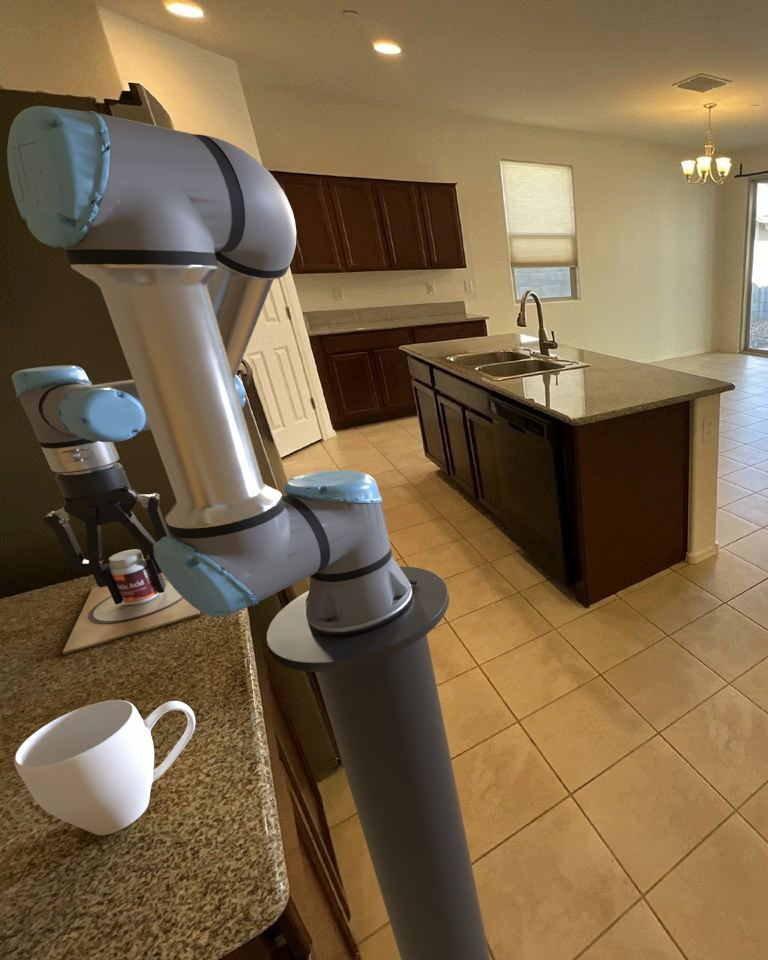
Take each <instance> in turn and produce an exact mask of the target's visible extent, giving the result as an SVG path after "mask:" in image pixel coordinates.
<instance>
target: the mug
mask: <svg viewBox="0 0 768 960" xmlns="http://www.w3.org/2000/svg"><path fill="white" fill-rule="evenodd" d="M171 711H180V712H183V713H184V714H185V716H186V719H187V726H186V728H185V730H184V732H183V733H182V735H181V737H180V738H179V739H178V741H177V743H176V744H175V746H174V747H173V748H172V750H171V751H170V752H169V753H168V754H167V756H166V757H165V759H164V760H163V761H162V762H161V763H160V765H158V766H157V767H155V768H154V766H155V747H154V741H153V737H152V733H151V731H152V729H153V728H154V726H155V724H157V722H158V721H159V719H160V718H161V717H163V715H165V714H166V713H168V712H171ZM195 728H196V716H195V714H194V711H193V710H192V708H191V707H190V706H189V705H187V704H186V703H185V702H182V701H178V700H169V701H167V702H164V703H162V704H161V705H159V706H157V708H156V709H154V710H153V711H152V712H151V713H150V714H149V715H148V716H147V717H146V718H145V719H143V718H142V716H141V714H140V713H139V711H138V709H137V707H136V706H135V705H134V704H133V703H132V702H130V701H127V700H122V699H112V700H111V699H110V700H104V701H99V702H95V703H91V704H88V705H85V706H82V707H79V708H77V709H74V710H72V711H70V712H67V713H65V714H63V715H61V716H59V717H57V718H55V719H54V720H52V721H50V722H48V723H47V724H45V725H43V726H42V727H41V728H39V729H38V730H36V731H35V732H34V733H32V734H31V735H29V737H27V739H26V740H24V742H23V743H22V744H20V746H19V748H18V749H17V750H16V752H15V754H14V757H13V758H14V759H13V764H14V767H15V769H16V772H17V774H18V775H19V776H20V778H21V781H23V783H24V785H25V787H26V788H27V790H28V791H29V793H30V795H31V796H32V798H33V799H34V801H35V802H36V804H38V805H39V806H40V808H41V809H43V810H44V811H45V812H46V813H48V814H50V815H51V816H53V817H55V818H57V819H58V820H61V821H63V822H66V823H68V824H71V826H75V827H77V828H79V829H81V830H83V831H86V832H89V833H91V834H93V835H97V836H107V835H111V834H114V833H117V832H119V831H121V830H123V829H125V828H127V827H128V826H131V824H133V823H134V822H135V821H137V820H138V819H139V818H140V817H141V816H142V815H143V814H144V813H145V812H146V810H147V809H148V807H149V805H150V796H151V790H152V785H153V783H154V782H155V781H157V780H158V779H159V778H161V777H162V776H163V775H164V774H165V773H166V772H167V770H169V768H170V767H171V766H172V764H174V762H175V761H176V759H177V758H178V756H180V754H181V753H182V751H183V750H184V749H185V747H186V746H187V744H188V743H189V741H190V740H191V738H192V736H193V735H194V732H195Z"/></svg>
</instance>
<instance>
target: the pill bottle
mask: <svg viewBox="0 0 768 960" xmlns="http://www.w3.org/2000/svg"><path fill="white" fill-rule="evenodd" d="M145 560H146V558H144V554H143V553H142V550H140V549H137V548H136V549H135V548H134V549H128V550H124V551H123V550H122V551H120V552H118V553H115V554H113V555H111V556H109V557H108V563H110V565H111V567H112V570H111V575H112V577H113V579H114V581H115V584H116V586H117V588H118V591H119V593H120V595H121V598H122V600H123V602H124V603H125V604H127V605H133V604H140V603H143V602H146V601H149V600H151V599H153V598H154V597H156V596H157V595H158V594H159V593H158V591H157V589H156V586H155V584H154V581H153V579H152V576H151V574H150V571H149V569H148V566H147V564H146V561H145Z"/></svg>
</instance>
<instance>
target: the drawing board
mask: <svg viewBox="0 0 768 960" xmlns="http://www.w3.org/2000/svg"><path fill="white" fill-rule="evenodd" d="M161 575H162V577H163V580H164V582H165V585H166V586H165V591H164V592H163V593H159V594H158V595H157V596H156V597H154V598H153V599H151V600H149V601H146V602H143V603H140V604H133V605H127V604H125V603H124V602H123V601H122V603H120V604H116V605H115V602H114V600H113V598H112V596H111V593H110V591H109V589H108V587H107V586H105V587H101V588H100V587H99V586H98V585H97V586H92V588H91V589H90V590H91V591H90V593H89V595H88V597H87V598H86V601H85V603H84V605H83V607H82V610H81V612H80V614H79V616H78V618H77V620H76V622H75V624H74V627H73V629H72V630H71V633H70V635H69V637H68V639H67V641H66V644H65V646H64V648H63V650H62V654H63V655H66V654H70V653H73V652H77V651H80V650H84V649H87V648H90V647H93V646H97V645H100V644H101V645H102V644H104V643H107V642H111V641H115V640H118V639H121V638H125V637H128V636H132V635H136V634H140V633H143V632H146V631H149V630H153V629H156V628H161V627H164V626H167V625H171V624H174V623H177V622H181V621H184V620H187V619H188V620H189V619H192V618H195V617H198V616H200V615H201V611H199V610H197V609H196V608H195V607H193V606H192V605H191V604H189V603H188V602H187V601H186V600H185V599H184V598H183V597H182V596H181V595H180V594H179V593H178V592H177V591H176V590H175V589H174V587H173V586H172V585H171V584H170V582H169V581H168V580H167V578H166V577H165V576H164V574H163V573H161Z"/></svg>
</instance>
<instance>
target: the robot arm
mask: <svg viewBox="0 0 768 960" xmlns="http://www.w3.org/2000/svg"><path fill="white" fill-rule="evenodd" d="M6 154H7V155H6V157H7V158H6V159H7V160H6V161H7V169H8V170H7V171H8V177H9V183H10V186H11V191H12V195H13V198H14V201H15V204H16V207H17V209H18V212H19V215H20V217H21V218H22V220H24V221H25V222H26V227H27V228H28V231H29V232H30V233H31V234H32V235H33V237H34V238H36V239H37V240H38V241H39V242H41V243H43V244H44V245H47V246H50V247H53V248H55V249H58V250H62V249H64V252H65V254H66V256H67V260H68V262H69V264H70V267H71V269H72V270H74V271H75V272H77V273H79V274H80V275H81V276H84V277H86V278H87V279H89V280H90V281H92V282H93V283H95V284H96V285H97V286H98V288H100V292H101V294H102V297H103V299H104V302H105V304H106V307H107V310H108V313H109V316H110V318H111V322H112V324H113V327H114V330H115V333H116V337H117V338H118V342H119V344H120V347H121V350H122V352H123V355H124V358H125V361H126V365H127V366H128V369H129V372H130V375H131V378H132V379H128V380H119V381H113V382H105V383H98V384H97V383H96V384H93V383H92V381H91V380H90V379H89V377H88V375H87V373H86V371H85V370H84V369H83V368H82V367H80V366H77V365H49V366H39V367H31V368H25V369H24V368H23V369H20V370H17V371H15V372H13V374H12V375H11V381H12V383H13V386H14V389H15V392H16V394H15V396H16V398H17V399H18V400H19V401H20V403H21V405H22V408H23V410H24V412H25V414H26V416H27V419H28V421H29V422H30V425H31V427H32V430H33V432H34V434H35V437H36V438H37V440H38V442H39V445H40V447H41V450H42V452H43V454H44V457H45V459H46V461H47V463H48V466H49V468H50V470H51V472H55V473H56V475H55V476H54V479H55V481H56V483H57V484H56V485H58V488H59V490H60V493H61V494H62V497H63V499H64V504H63V507H61V508H59V509H57V510H56V511H54V510H51V511H49V512H48V513H47V514H46V515H45V516H44V518H43V523H44V524H45V525H47V526H48V527H49V529H52V531H53V532H54V534H55V536H56V538H57V540H58V542H59V545H60V547H61V549H62V551H63V553H64V555H65V557H66V560H67V562H68V564H69V566H70V568H71V570H72V571H73V572H81V571H89V572H90V573H91V574H92V576H93V578H94V580H95V582H96V585H97V586H99V587H100V588H101V587H105V586H107V587H108V589H109V591H110V593H111V596H112V598H113V600H114V602H115V605H116V604H120V603H122V601H123V600H122V598H121V595H120V593H119V591H118V588H117V586H116V584H115V581H114V579H113V577H112V575H111V570H112V568H113V567H112V566H111V565H110V562H108V563H107V562H106V563H103V562H104V559H103V544H102V526H103V525H106V524H108V523H118V522H119V523H120V525H121V526H123V527H124V528H126V530H127V531H128V532H129V533H130V534H131V536H132V537H133V538H134V540H136V542H137V543H138V544H139V545H140V546H141V548H142V549H143V550H144V551H145V553H146V556H145V561H146V564H147V566H148V569H149V571H150V574H151V576H152V579H153V581H154V584H155V586H156V589H157V591H158V593H163V592H164V591H165V586H166V585H165V582H164V580H163V577H162V575H161V573H163V574H164V576H165V577H166V578H167V580H168V581H169V582H170V584H171V585H172V586H173V587H174V589H175V590H176V591H177V592H178V593H179V594H180V595H181V596H182V597H183V598H184V599H185V600H186V601H187V602H188V603H189V604H191V605H192V606H193V607H195V608H196V609H197V610H199V611H200V613H202V614H204V615H207V616H210V617H213V618H225V617H228V616H231V615H233V614H235V613H238V612H240V611H242V610H244V609H246V608H249V607H253V606H254V607H255V606H257V605H258V604H259V603H260V602H262V601H263V600H266V599H267V598H269V597H271V596H273V595H275V594H277V593H279V592H281V591H284V590H285V589H287V588H289V587H291V586H293V585H295V584H297V583H299V582H302V581H303V580H305V579H307V578H309V585H308V591H309V592H308V596H307V599H306V603H307V608H306V617H307V621H308V624H309V627H310V629H311V630H312V631H313V632H315V633H316V634H318V635H321V636H326V637H349V636H355V635H360V634H364V633H367V632H370V631H373V630H376V629H378V628H381V627H383V626H385V625H387V624H389V623H391V622H392V621H394V620H395V619H397V618H398V617H400V616H401V615H402V614H403V613H404V612H405V611H406V610H407V609H408V608H409V607H410V605H411V603H412V601H413V593H412V588H411V585H416V584H417V580H414V579H407V578H406V576H405V575H404V573H403V572H402V570H401V569H400V567H399V566H400V565H399V564H398V563H397V561H396V560H395V558H394V556H393V552H392V547H391V541H390V538H389V537H390V536H389V533H388V527H387V523H386V517H385V514H384V509H383V508H384V507H383V504H382V502H383V498H382V496H381V493H380V490H379V487H378V484H377V481H376V480H375V479H374V478H373V476H371V475H369V474H368V473H365V472H361V471H356V470H326V471H325V470H324V471H316V472H315V471H314V472H310V473H309V472H308V473H304V474H300V475H297V476H293V477H291V478H289V479H288V480H286V482H285V483H284V488H283V491H284V493H285V494H286V495H284V496H283V495H282V493H281V491H280V490H278V489H276V488H274V487H271V486H269V485H267V484H265V483H264V481H263V477H262V473H261V469H260V466H259V463H258V460H257V456H256V452H255V448H254V445H253V442H252V439H251V435H250V431H249V428H248V424H247V420H246V418H245V414H244V411H243V408H244V407H245V404H246V396H245V395H246V390H245V387H244V384H243V382H242V380H241V379H240V377H239V376H238V375H237V374H238V371H239V369H240V367H241V363H242V361H243V358H244V356H245V353H246V351H247V348H248V346H249V344H250V340H251V338H252V336H253V333H254V330H255V328H256V325H257V324H258V323H257V322H258V321H259V317H260V315H261V313H262V310H263V308H264V305H265V303H266V300H267V298H268V295H269V292H270V290H271V287H272V285H273V282H274V280H278V279H280V278H283V277H284V276H285V275H286V274H287V273H288V271H289V268H290V265H291V264H292V261H293V258H294V254H295V251H296V246H297V227H296V220H295V217H294V212H293V210H292V207H291V205H290V202H289V200H288V196H287V195H286V193H285V191H284V189H283V188H282V187H281V185H280V184H279V182H278V181H277V180H276V178H275V177H274V175H273V174H272V173H271V172H270V171H269V170H268V169H267V168H266V167H265V166H264V165H263V164H262V162H260V161H258V160H257V159H256V158H255V157H254V156H252V155H250V153H248V152H246V151H245V150H244V149H243V148H240V147H239V146H237V145H234V144H232V143H230V142H228V141H226V140H224V139H221V138H217V137H214V136H210V135H206V134H205V135H204V134H195V133H191V132H185V131H181V130H177V129H172V128H167V127H163V126H158V125H154V124H150V123H146V122H145V123H144V122H140V121H136V120H132V119H125V118H121V117H117V116H112V115H107V114H104V113H98V112H95V111H92V110H78V109H69V108H61V107H53V106H46V105H33V106H29V107H27V108H25V109H23V110H21V111H20V112H19V113H18V114H17V115H16V117H15V118H14V119H13V121H12V123H11V126H10V129H9V134H8V141H7V148H6ZM147 431H151V434H152V436H153V440H154V442H155V445H156V447H157V450H158V453H159V456H160V459H161V461H162V464H163V467H164V470H165V472H166V475H167V478H168V481H169V483H170V484H169V485H170V487H171V490H172V493H173V495H174V497H175V503H174V505H173V506H172V507H171V508H170V509H169V511H168V512H167V513H166V515H165V517H164V516H163V512H162V511H161V508H160V500H161V495H160V493H158V492H153V493H150V494H145V493H144V494H143V493H138V491H136V490H135V489H133V488H132V486H131V484H130V481H129V479H128V477H127V475H126V471H125V469H124V467H123V464H122V463H120V462H118V461H119V460H120V456H119V454H118V451H117V448H116V445H115V443H118V442H124V441H128V440H129V439H132V438H133V437H135V436H136V435H137V434H138V433H140V432H147ZM137 502H139V503H140V504H141V506H142V507H143V508H145V509H147V514H148V517H149V520H150V522H151V525H152V527H153V530H154V532H155V535H156V537H157V539H158V540H157V541H156V540H155V539H153V537H152V536H151V535H150V533H149V532H148V531H147V530H146V529H145V527H144V526H143V525H142V523H141V522H140V521H139V520H138V519H137V516H136V515H135V514H134V513H133V509H134V507H135V505H136V503H137ZM69 515H70V516H73V517H74V518H76V519H78V520H80V521H83V522H85V531H86V532H85V533H86V538H87V539H86V540H87V556H88V559H86V557H84V554H83V551H82V549H81V547H80V545H79V543H78V540H77V538H76V536H75V534H74V532H73V530H72V527H71V525H70V523H69V521H70V516H69ZM305 606H306V605H305Z"/></svg>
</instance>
